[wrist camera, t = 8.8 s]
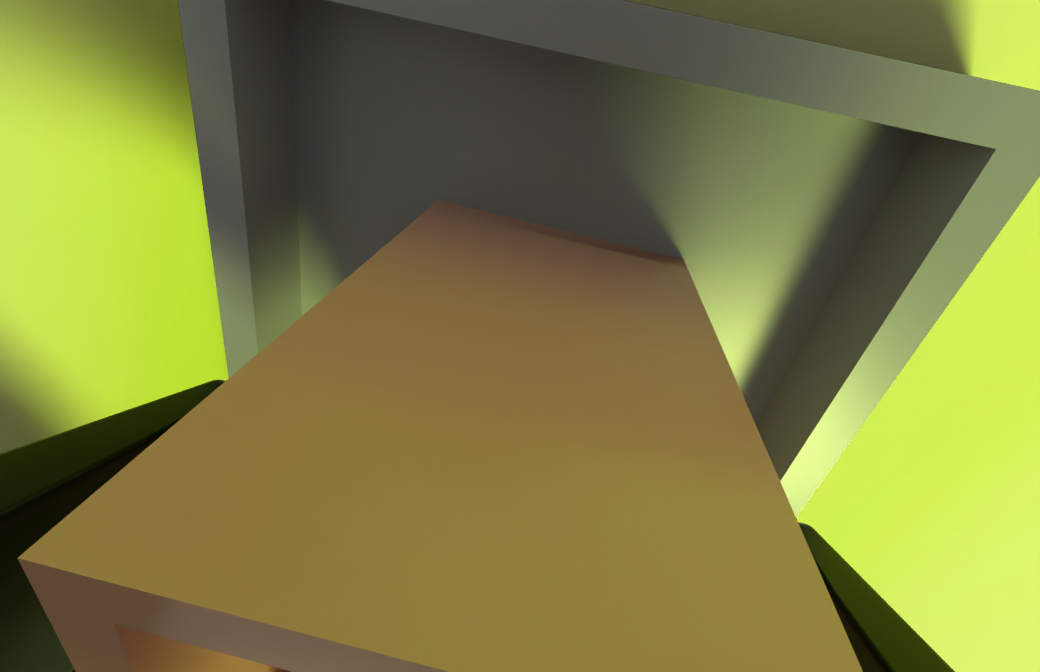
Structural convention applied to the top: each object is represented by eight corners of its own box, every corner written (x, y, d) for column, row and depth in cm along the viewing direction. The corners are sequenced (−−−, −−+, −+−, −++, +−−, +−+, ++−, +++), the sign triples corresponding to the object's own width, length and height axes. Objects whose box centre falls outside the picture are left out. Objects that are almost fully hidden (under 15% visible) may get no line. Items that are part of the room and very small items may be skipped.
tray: (294, 453, 16) (247, 514, 14) (264, -63, 9) (163, -101, 7) (699, 554, 16) (715, 632, 14) (974, 93, 9) (1092, 102, 7)
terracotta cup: (415, 395, 14) (167, 848, 6) (438, 200, 11) (18, 557, 3) (610, 445, 13) (626, 975, 6) (683, 259, 11) (916, 794, 3)
